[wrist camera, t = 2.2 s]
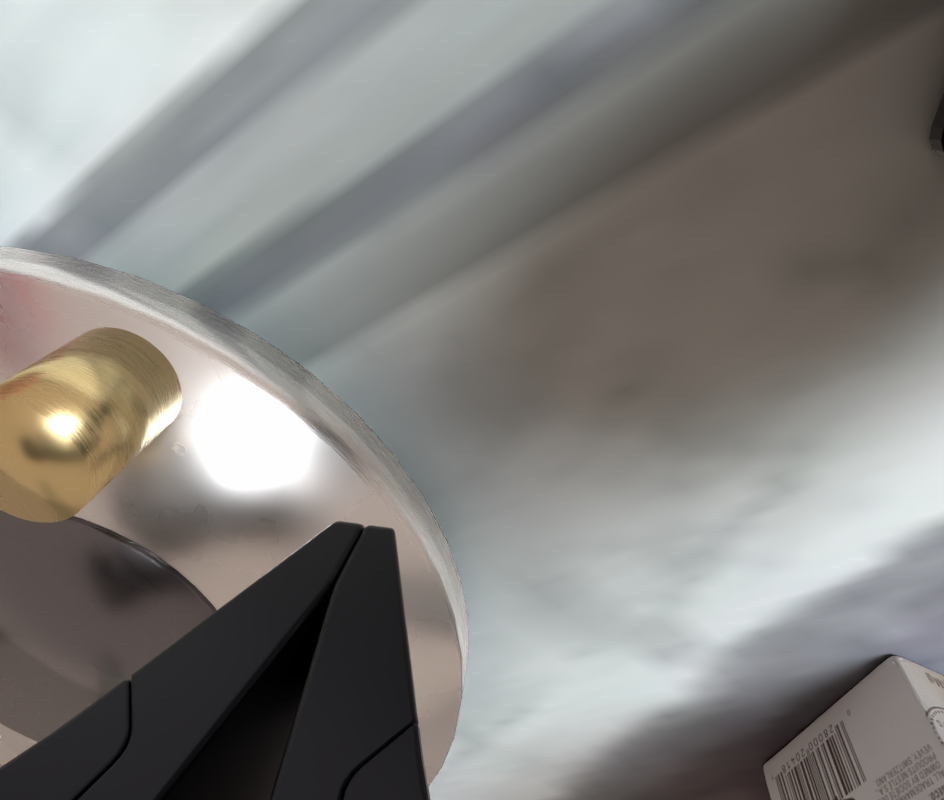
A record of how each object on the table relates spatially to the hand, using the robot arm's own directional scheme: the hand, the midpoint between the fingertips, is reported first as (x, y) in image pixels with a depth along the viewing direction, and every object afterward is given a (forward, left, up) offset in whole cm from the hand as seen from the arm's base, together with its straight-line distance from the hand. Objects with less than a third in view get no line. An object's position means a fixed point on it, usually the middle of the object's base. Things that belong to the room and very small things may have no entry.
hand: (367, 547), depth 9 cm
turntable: (+9, +9, -7) cm, 14 cm away
